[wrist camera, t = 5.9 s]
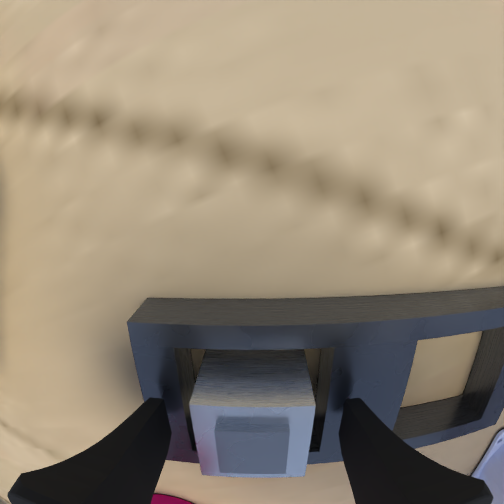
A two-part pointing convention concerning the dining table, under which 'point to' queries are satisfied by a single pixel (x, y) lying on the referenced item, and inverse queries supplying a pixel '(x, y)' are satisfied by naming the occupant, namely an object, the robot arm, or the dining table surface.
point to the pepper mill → (167, 500)
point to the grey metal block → (253, 413)
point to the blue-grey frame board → (329, 357)
